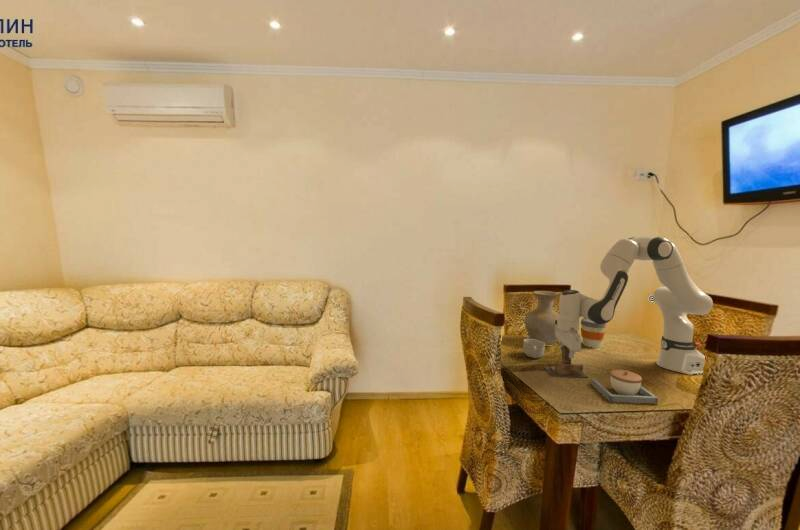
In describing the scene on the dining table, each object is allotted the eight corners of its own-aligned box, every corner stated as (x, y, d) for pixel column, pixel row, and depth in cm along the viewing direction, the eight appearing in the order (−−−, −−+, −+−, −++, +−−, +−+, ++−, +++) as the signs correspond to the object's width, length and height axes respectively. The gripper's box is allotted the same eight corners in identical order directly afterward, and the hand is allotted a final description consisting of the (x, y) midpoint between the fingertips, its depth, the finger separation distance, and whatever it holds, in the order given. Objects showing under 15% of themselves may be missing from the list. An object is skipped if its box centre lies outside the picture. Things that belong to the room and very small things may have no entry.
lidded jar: (602, 387, 141) (604, 366, 140) (625, 386, 143) (626, 365, 142) (623, 400, 131) (625, 377, 130) (647, 398, 132) (649, 375, 131)
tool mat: (577, 368, 160) (577, 367, 160) (587, 377, 151) (588, 376, 150) (543, 367, 162) (543, 366, 162) (551, 376, 152) (551, 375, 152)
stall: (633, 385, 143) (633, 380, 143) (657, 404, 128) (658, 398, 128) (591, 384, 144) (591, 378, 144) (610, 402, 129) (610, 395, 129)
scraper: (576, 369, 159) (577, 345, 157) (582, 375, 152) (584, 349, 151) (550, 368, 159) (551, 344, 158) (555, 374, 153) (556, 348, 152)
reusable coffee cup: (577, 340, 201) (579, 316, 200) (600, 343, 197) (602, 318, 196) (581, 347, 189) (583, 322, 188) (606, 350, 186) (608, 324, 184)
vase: (551, 336, 209) (554, 289, 206) (571, 348, 188) (574, 296, 185) (517, 336, 208) (519, 289, 205) (533, 349, 186) (536, 296, 183)
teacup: (524, 351, 183) (525, 337, 182) (546, 355, 178) (546, 340, 177) (519, 359, 171) (520, 344, 171) (542, 363, 166) (543, 348, 165)
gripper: (586, 332, 143) (584, 363, 145) (566, 319, 163) (564, 346, 165) (571, 331, 144) (569, 362, 145) (552, 319, 164) (551, 346, 165)
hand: (566, 354), depth 155 cm, fingers open, 8 cm apart
